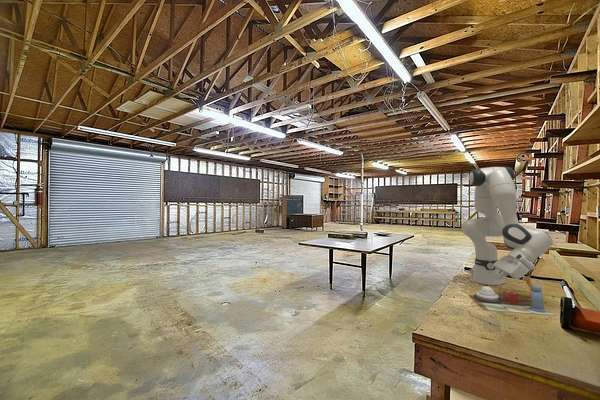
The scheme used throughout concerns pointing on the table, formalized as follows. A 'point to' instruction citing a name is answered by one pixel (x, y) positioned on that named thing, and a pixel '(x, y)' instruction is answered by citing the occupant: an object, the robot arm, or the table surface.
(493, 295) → the dome
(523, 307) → the game board
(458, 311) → the table surface
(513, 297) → the red die
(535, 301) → the pawn
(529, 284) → the figurine
